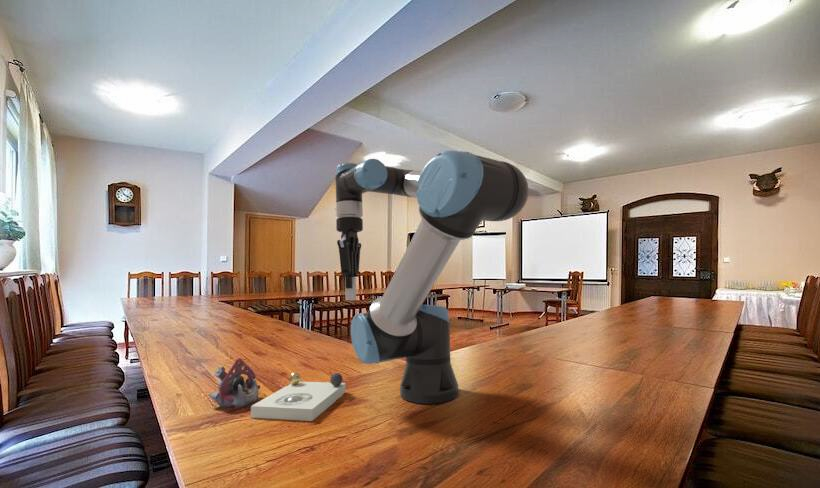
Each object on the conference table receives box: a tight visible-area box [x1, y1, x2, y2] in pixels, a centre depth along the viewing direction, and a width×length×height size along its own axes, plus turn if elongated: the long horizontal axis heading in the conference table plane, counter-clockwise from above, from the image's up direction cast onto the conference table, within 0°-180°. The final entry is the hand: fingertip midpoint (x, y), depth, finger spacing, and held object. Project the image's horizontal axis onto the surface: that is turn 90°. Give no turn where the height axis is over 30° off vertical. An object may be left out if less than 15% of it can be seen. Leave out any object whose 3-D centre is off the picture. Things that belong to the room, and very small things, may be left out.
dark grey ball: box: [329, 372, 343, 386], centre depth 94 cm, size 3×3×3 cm
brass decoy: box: [288, 371, 302, 385], centre depth 97 cm, size 3×3×3 cm
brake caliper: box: [208, 357, 261, 409], centre depth 92 cm, size 11×11×12 cm
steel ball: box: [286, 397, 299, 403], centre depth 84 cm, size 3×3×3 cm
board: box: [250, 381, 347, 422], centre depth 88 cm, size 19×15×2 cm
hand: (350, 300), depth 102 cm, fingers closed
